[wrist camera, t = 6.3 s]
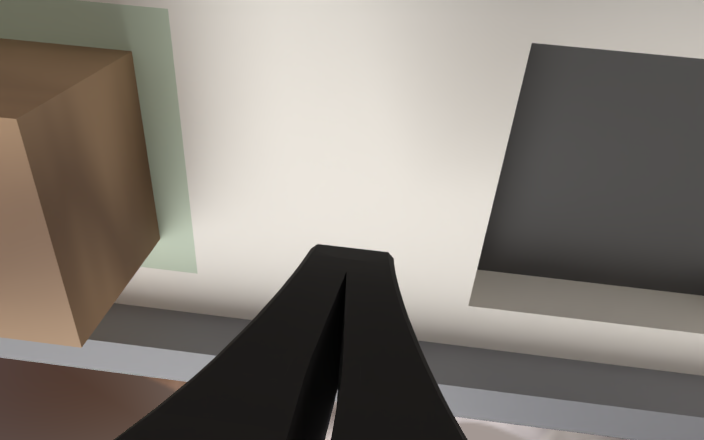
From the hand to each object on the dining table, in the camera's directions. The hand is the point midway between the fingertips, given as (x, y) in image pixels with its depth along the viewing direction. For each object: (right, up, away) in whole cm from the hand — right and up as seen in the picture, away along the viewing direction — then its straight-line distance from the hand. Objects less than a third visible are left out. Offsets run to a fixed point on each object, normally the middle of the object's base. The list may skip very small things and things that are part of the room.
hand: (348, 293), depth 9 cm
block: (-7, +3, +4) cm, 9 cm away
